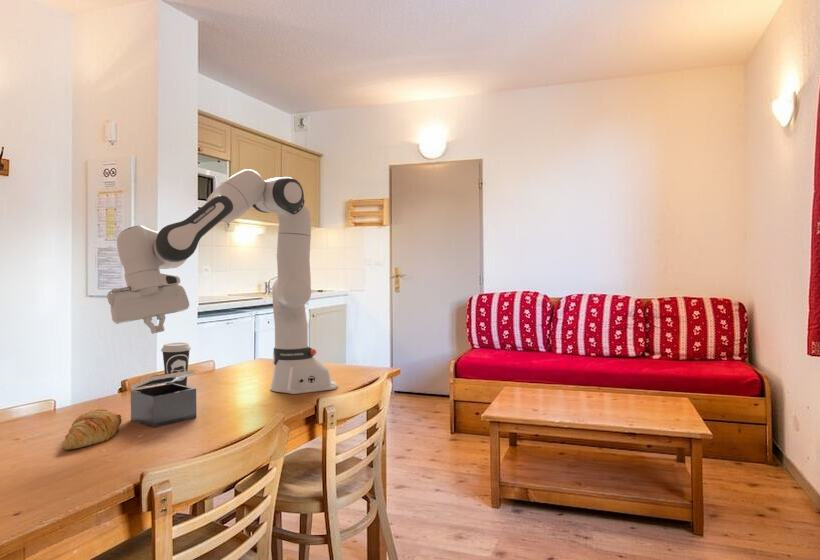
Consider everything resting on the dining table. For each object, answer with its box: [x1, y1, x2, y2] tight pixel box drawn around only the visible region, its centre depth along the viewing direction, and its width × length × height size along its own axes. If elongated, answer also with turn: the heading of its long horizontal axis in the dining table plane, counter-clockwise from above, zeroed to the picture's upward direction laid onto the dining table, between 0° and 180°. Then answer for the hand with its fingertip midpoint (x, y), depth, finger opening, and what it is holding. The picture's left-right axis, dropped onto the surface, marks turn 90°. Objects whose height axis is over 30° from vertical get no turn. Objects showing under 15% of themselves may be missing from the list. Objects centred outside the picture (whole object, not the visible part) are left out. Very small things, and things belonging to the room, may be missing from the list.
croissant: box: [61, 409, 123, 451], centre depth 128 cm, size 21×10×8 cm, turn 1°
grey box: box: [130, 383, 197, 428], centre depth 145 cm, size 12×12×8 cm
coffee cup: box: [160, 342, 192, 386], centre depth 185 cm, size 10×10×15 cm
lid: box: [130, 369, 196, 390], centre depth 145 cm, size 12×12×2 cm
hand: (158, 332), depth 146 cm, fingers closed
